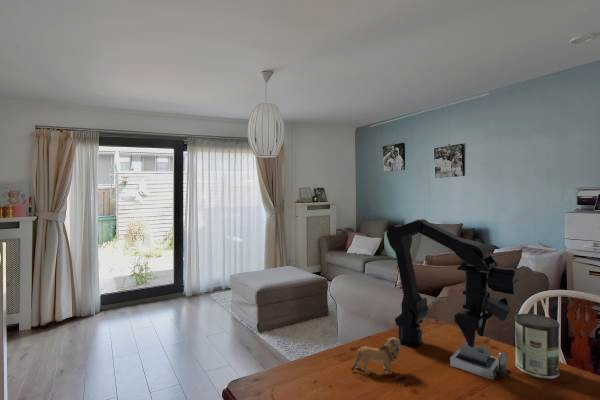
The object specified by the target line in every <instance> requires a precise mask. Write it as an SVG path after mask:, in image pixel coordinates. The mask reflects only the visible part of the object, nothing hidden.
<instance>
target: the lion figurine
mask: <svg viewBox="0 0 600 400" xmlns="http://www.w3.org/2000/svg"><path fill="white" fill-rule="evenodd" d="M401 350H402V344H400V340H399V337H398V338H396V337H395V336H392V337H389V338H388V339H387V342H385V343H384V344H383V345H382V346H381V347H377V348H374V347H370V346H367V345H365V346H362V347H359V349H358V350H357V351H356V354H355V359H354V364H353V366H352V367H351V368H350V371H353V370H355V368H356V369H360V368H361V366H360V365H359V363H360V362H363V363H362V369H363V371H364V372H365V373H366V374H367V375H370V374H371V371H370V370H368V369H367V366H368V363H369V361H370V360H371V361H373V362H376V363H382V368H383V369H384V370H386V372H387V374H389V375H392V374H393V372H392V370H391V367H392V366H391V365H392V362H394V361H396V360H397V359H398V357H399V356H400V354H401ZM369 359H370V360H369Z"/></svg>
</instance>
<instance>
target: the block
mask: <svg viewBox="0 0 600 400" xmlns="http://www.w3.org/2000/svg"><path fill="white" fill-rule="evenodd" d="M459 348H460V359H461V360H464V361H468V362H471V363H474V364H477V365H480V366H483V367H487V368H490V356H491V348H488V347H484V346H480V345H477V344H474V347H470V346H469V345H468V343H467V341H464V342H462V344H461V345H460V346H459Z"/></svg>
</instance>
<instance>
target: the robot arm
mask: <svg viewBox="0 0 600 400" xmlns="http://www.w3.org/2000/svg"><path fill="white" fill-rule="evenodd" d="M417 234H421V235H423V236H425V237H426V238H428V239H430V240H432V241H434V242H436V243H438V244H440V245H442V246H444V247H445V248H448V249H450V251H452V252H453V253H454V254H455V255H456V256H457V257H458V258H459V259H460V260H462V261H463V262H462V264H460V265H459V266H457V267H456V270H458V271H463V272H464V289H463V290H462V295H464V304H462V309H460V311H458V312H457V313H455V314H454V317H453V318H454V321H453V322H454V323H455V324H456V325H457V326H458V328H459V330H460V331H461V333H462V335H463V338H464V339H465V342H467V343H468V345H469V346H470V347H474V345H475V342H476V337H477V336H476V335H477V334H478V337H481V338H482V337H484V334H485V333H486V332H485V331H486V328H487V324H488V320H489V319H490V318H491V317H493V316H494V317H496V318H498V320H500V321H502V322H505V321H506V320H507V319H508V317H509V316H510V313H511V311H512V309H513V307H512V304H510V299H509V298H507V297H505V296H502V297H501V298H499V299H498V298H494V297H492V296H491V295H492V294H491V292H490V290H489V289H491V291H492V292H497V293H503V294H508V295H513V296H517V295H519V292H520V289H521V279H520V277H519V274H518V270H517V268H514V267H508V268H507V267H501V266H499V264H498V262H497V261H496V260H495V259H494V258H493V256H492V255H491V252H490V248H489V246H488V245H486V244H485V243H482V242H480V241H476V240H474V239H473V240H472V239H468V238H463V237H460V236H457V235H456V234H453V233H452V232H449V231H448V230H446V229H443V228H441V227H439V226H438V225H435V224H433V223H431V222H429V221H427V219H424V218H422V219H421V218H420V219H415V220H414V221H411V222H409V223H405V224H397V225H392V226H390V227H389V228H388V229H387V230H386V239H387V240H388V241H387V242H388V244H389V246H390V247H391V249H392V250H393V251H394V253H395V254H394V255H395V258H396V263H397V268H398V272H399V280H400V284H401V288H402V294H403V296H402V301H401V304H400V305H401V314H399V315H397V317H395V318H394V321H395V325H396V326H397V327H398V339H399V340H400V344H401V345H404V346H406V347H409V348H413V349H415V348H417V347H418V346H419V345H421V344H422V343H423V342H424V341H423V336H422V335H423V334H422V333H423V331H422V329H421V323H423V321H424V320H425V319H426V318H427V316H428V312H429V311H430V308H429V306H428V299H427V297H424V298H423V297H422V296H421V295H420V293H419V289H418V284H417V279H416V273H415V270H414V264H413V259H412V254H411V247H412V243H413V237H414V236H415V235H417Z"/></svg>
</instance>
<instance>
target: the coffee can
mask: <svg viewBox="0 0 600 400" xmlns="http://www.w3.org/2000/svg"><path fill="white" fill-rule="evenodd" d="M514 321H515V328H514V330H515V333H514V334H515V363H514V365H515V367H516V368H517V369H518V370H519V371H521V372H523V373H525V374H527V375H529V376H531V377H536V378H539V379H546V380H547V379H550V380H551V379H552V380H553V379H557V378H558V377H560V343H559V342H560V337H559V336H560V323H559V321H557V320H555V319H554V318H551V317H548V316H545V315H541V314H535V313H534V314H533V313H518V314H517V313H516V314H515V315H514Z"/></svg>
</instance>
